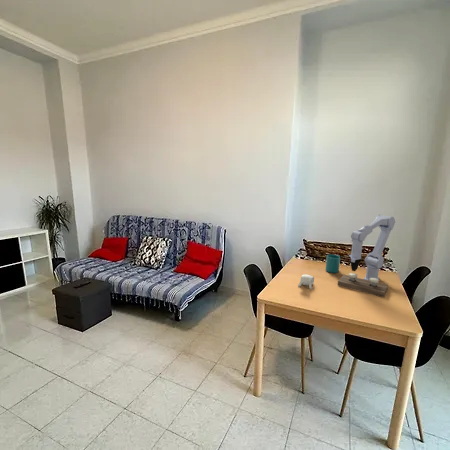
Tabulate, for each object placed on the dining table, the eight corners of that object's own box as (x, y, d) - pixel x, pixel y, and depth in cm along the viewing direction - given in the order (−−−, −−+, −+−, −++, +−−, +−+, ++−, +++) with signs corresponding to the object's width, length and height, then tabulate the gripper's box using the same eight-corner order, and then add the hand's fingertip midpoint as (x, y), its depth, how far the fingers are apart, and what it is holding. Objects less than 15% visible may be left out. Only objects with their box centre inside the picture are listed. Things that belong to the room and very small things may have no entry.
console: (343, 278, 183) (344, 274, 183) (387, 289, 167) (388, 284, 167) (337, 285, 172) (337, 280, 172) (383, 297, 157) (384, 292, 156)
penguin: (300, 286, 177) (295, 286, 164) (302, 273, 178) (297, 272, 165) (314, 289, 173) (309, 289, 160) (316, 276, 174) (311, 275, 161)
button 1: (349, 278, 176) (350, 272, 176) (357, 280, 173) (358, 274, 172) (347, 280, 173) (347, 274, 172) (355, 282, 169) (356, 276, 169)
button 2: (369, 283, 169) (370, 277, 168) (378, 285, 166) (379, 279, 165) (367, 285, 165) (368, 279, 164) (377, 288, 162) (377, 281, 161)
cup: (339, 268, 201) (341, 254, 199) (337, 274, 191) (339, 259, 189) (327, 266, 206) (328, 252, 203) (324, 271, 195) (325, 257, 193)
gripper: (352, 246, 178) (350, 265, 181) (346, 251, 167) (344, 271, 170) (364, 248, 174) (362, 268, 177) (359, 253, 163) (356, 274, 166)
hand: (354, 270), depth 173 cm, fingers open, 3 cm apart
